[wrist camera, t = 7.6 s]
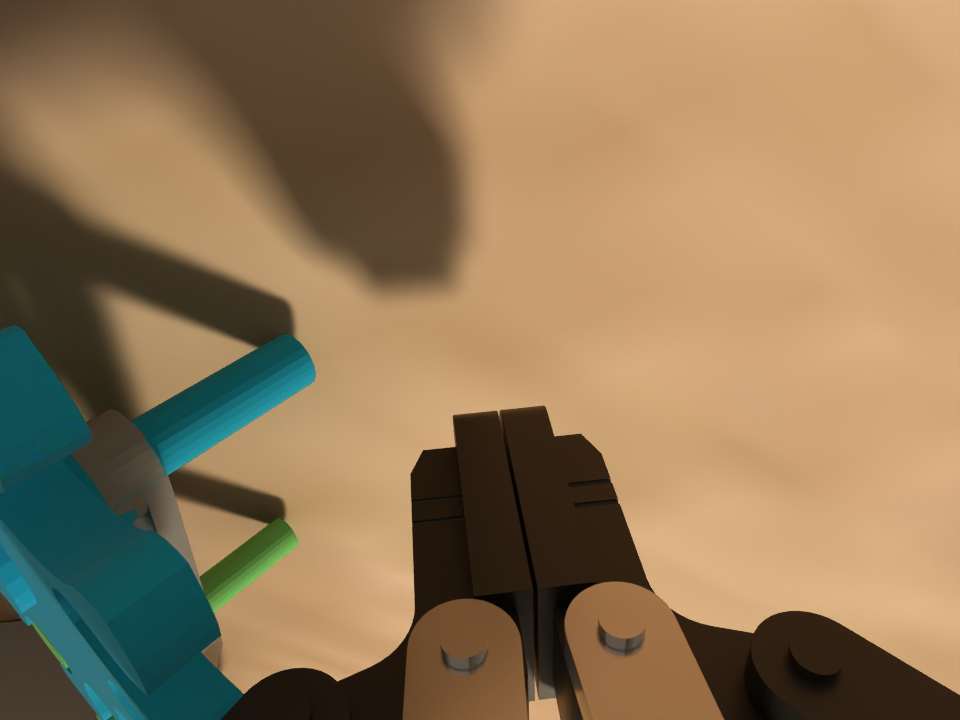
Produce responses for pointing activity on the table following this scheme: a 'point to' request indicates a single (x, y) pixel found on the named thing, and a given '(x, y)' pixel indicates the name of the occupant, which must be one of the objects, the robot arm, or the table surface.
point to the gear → (127, 529)
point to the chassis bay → (43, 678)
